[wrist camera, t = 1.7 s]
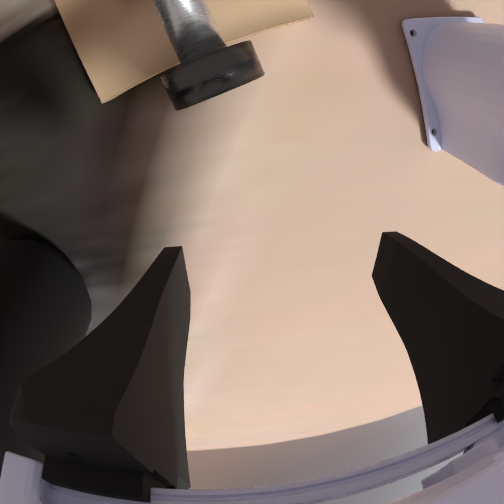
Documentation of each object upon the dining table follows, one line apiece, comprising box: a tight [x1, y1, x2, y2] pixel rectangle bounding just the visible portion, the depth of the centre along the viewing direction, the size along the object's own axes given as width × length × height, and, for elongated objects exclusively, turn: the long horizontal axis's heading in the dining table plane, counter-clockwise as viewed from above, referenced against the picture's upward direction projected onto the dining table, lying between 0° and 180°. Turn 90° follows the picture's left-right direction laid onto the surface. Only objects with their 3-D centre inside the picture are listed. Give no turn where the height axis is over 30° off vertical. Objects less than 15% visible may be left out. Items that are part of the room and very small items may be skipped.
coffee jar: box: [0, 239, 91, 477], centre depth 14 cm, size 11×11×18 cm
